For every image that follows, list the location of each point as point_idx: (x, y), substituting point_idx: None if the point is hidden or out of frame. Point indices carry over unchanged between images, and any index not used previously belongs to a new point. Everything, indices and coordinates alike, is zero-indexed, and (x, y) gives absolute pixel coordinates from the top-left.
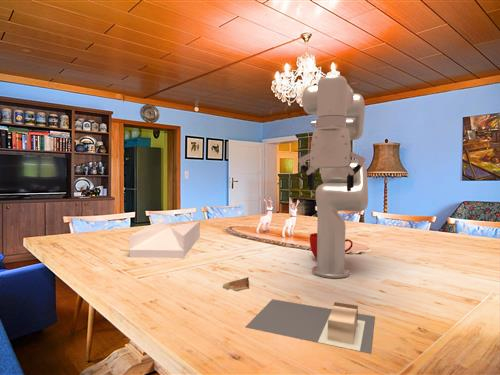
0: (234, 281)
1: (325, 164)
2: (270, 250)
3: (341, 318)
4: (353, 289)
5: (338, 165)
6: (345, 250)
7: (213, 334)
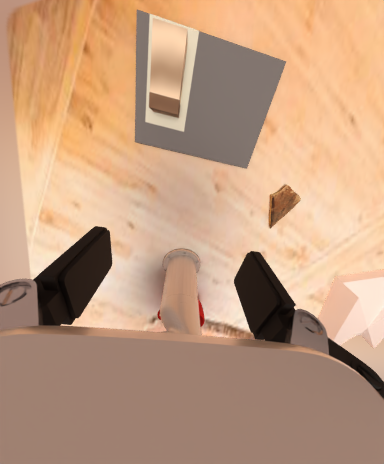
0: (287, 210)
1: (226, 372)
2: (240, 311)
3: (169, 41)
4: (159, 223)
5: (61, 346)
6: None
7: (325, 34)
